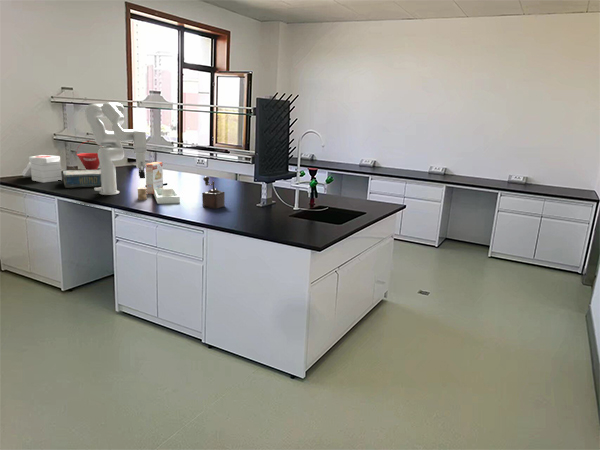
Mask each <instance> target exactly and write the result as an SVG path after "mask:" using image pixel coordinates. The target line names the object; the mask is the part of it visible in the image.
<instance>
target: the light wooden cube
mask: <svg viewBox="0 0 600 450" xmlns="http://www.w3.org/2000/svg"><path fill="white" fill-rule="evenodd" d="M137 199H138V200H139V201H142V200H144V201H145V200H147V193H146V187H137Z"/></svg>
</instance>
